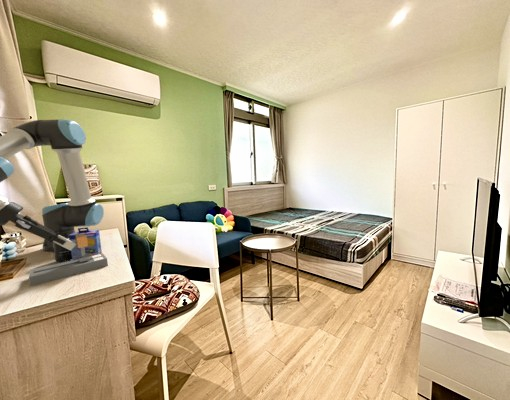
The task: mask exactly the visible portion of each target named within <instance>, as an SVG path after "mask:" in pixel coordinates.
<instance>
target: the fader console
mask: <svg viewBox="0 0 510 400" xmlns="http://www.w3.org/2000/svg"><path fill="white" fill-rule="evenodd" d="M89 259H90V260H88V261H83V262H80V261H79V259H76V260H70V261H66V262H58V263H55V264H51V265H46V266H42V267H38V268H32V269H30V270H29V276H28V281H29V287H31V286H32V287H33V286H37V285H40V284H44V283H47V282H51V281H55V280H58V279H63V278H65V277H66V278H67V277H70V276H75V275H77V274H81V273H85V272H89V271H93V270H97V269H100V268H104V267H107V266H108V263H109V262H108V258H107V257H106V256H105V254H104V253H103V252H102V254H98V255H94V256H89Z"/></svg>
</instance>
